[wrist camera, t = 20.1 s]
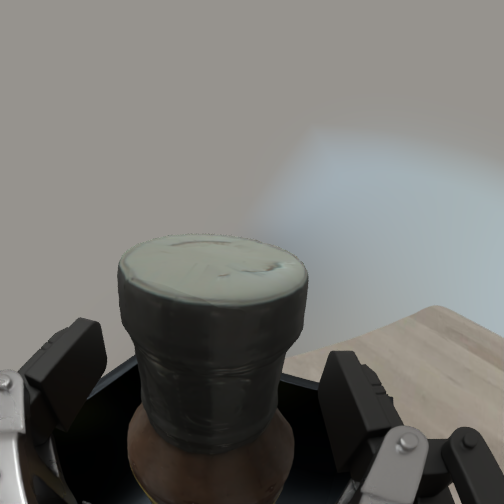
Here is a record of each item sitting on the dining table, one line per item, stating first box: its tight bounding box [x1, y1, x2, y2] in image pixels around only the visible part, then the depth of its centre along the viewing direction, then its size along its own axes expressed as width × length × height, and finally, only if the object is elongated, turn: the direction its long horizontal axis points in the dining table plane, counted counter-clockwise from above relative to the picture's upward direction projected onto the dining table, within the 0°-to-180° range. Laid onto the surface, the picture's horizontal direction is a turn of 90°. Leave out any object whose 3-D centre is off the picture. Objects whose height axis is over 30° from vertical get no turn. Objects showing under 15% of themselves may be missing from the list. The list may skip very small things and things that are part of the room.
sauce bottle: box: [117, 234, 308, 504], centre depth 9 cm, size 6×6×20 cm
